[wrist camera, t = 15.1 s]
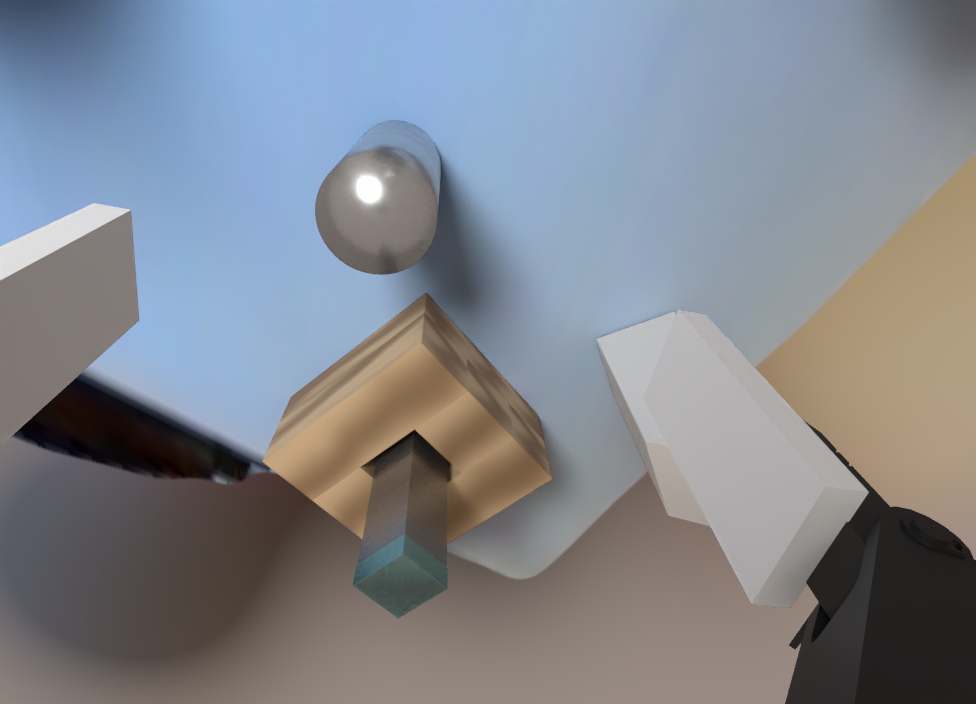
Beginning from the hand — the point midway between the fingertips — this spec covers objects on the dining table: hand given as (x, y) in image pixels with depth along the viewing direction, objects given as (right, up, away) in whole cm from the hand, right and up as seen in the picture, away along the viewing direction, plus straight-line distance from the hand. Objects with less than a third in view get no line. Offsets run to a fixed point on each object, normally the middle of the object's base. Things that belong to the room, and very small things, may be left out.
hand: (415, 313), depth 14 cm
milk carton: (+16, -1, +38) cm, 41 cm away
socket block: (-5, -6, +39) cm, 40 cm away
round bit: (-5, +13, +29) cm, 32 cm away
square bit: (-5, -8, +36) cm, 37 cm away
